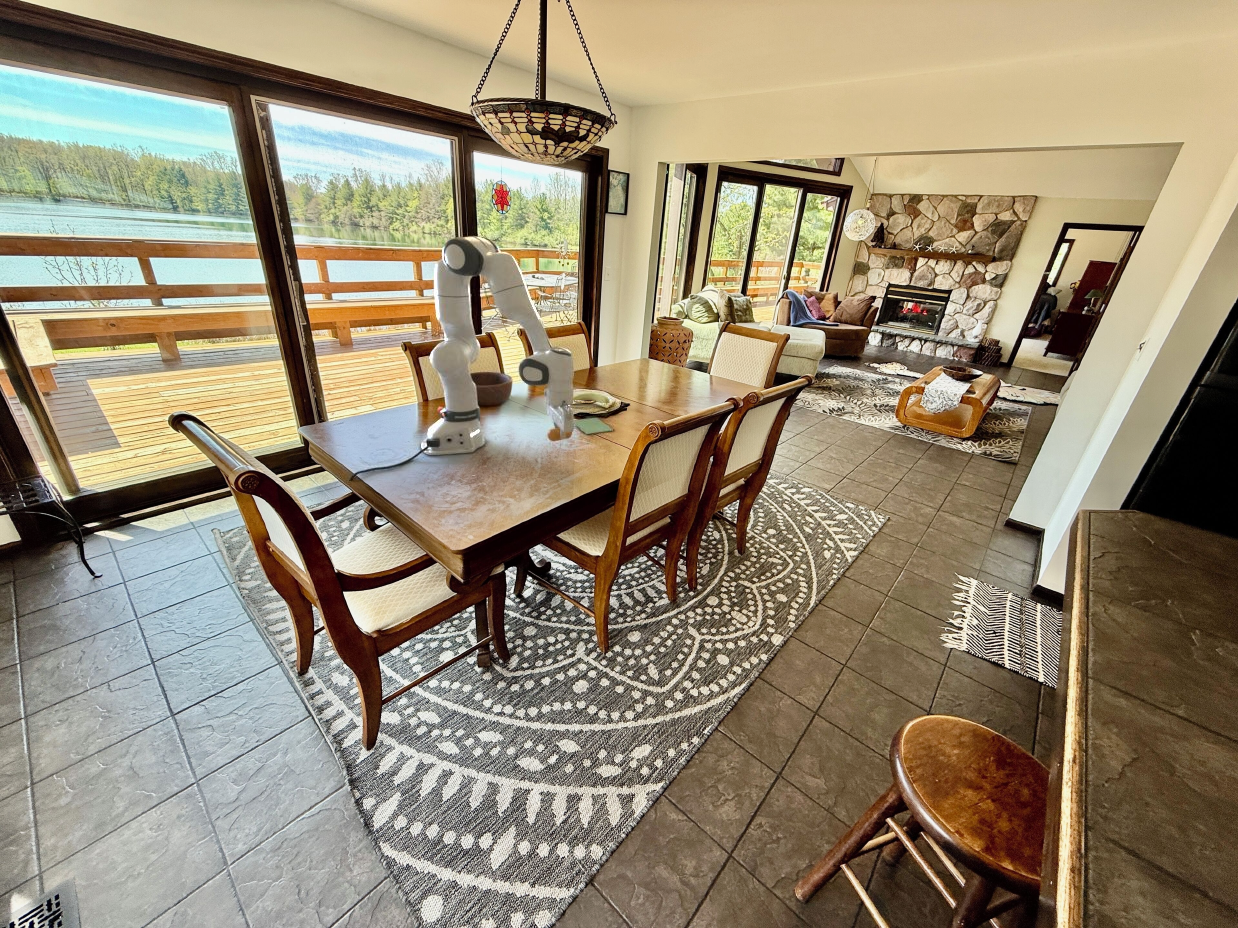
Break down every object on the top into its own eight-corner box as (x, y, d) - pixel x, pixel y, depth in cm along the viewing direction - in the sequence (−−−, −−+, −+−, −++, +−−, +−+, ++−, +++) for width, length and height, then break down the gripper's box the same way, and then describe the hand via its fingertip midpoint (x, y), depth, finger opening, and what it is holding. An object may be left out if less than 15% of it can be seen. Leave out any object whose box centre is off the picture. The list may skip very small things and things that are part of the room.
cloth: (586, 434, 193) (586, 433, 193) (571, 421, 206) (571, 420, 205) (613, 430, 198) (613, 430, 198) (597, 418, 211) (597, 417, 211)
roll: (551, 444, 163) (551, 432, 162) (545, 439, 167) (545, 427, 165) (574, 439, 169) (574, 427, 167) (568, 435, 172) (568, 423, 170)
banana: (588, 385, 230) (617, 400, 218) (590, 394, 234) (617, 410, 222) (566, 396, 223) (594, 413, 212) (568, 406, 227) (595, 423, 215)
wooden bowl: (463, 391, 235) (461, 371, 231) (515, 392, 238) (514, 372, 234) (453, 408, 213) (451, 386, 209) (510, 409, 216) (509, 387, 211)
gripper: (579, 406, 154) (578, 445, 160) (560, 387, 170) (559, 424, 176) (560, 407, 151) (560, 447, 157) (542, 388, 168) (543, 425, 174)
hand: (559, 435), depth 167 cm, fingers closed on roll, 5 cm apart
